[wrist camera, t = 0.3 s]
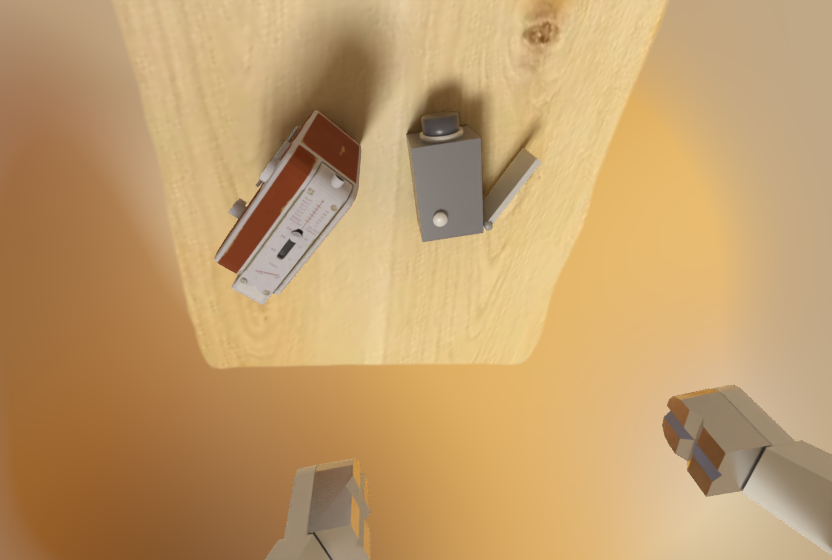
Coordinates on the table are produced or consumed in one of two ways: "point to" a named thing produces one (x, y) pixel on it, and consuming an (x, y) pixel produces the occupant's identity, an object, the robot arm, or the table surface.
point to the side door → (508, 186)
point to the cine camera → (292, 208)
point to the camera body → (446, 177)
